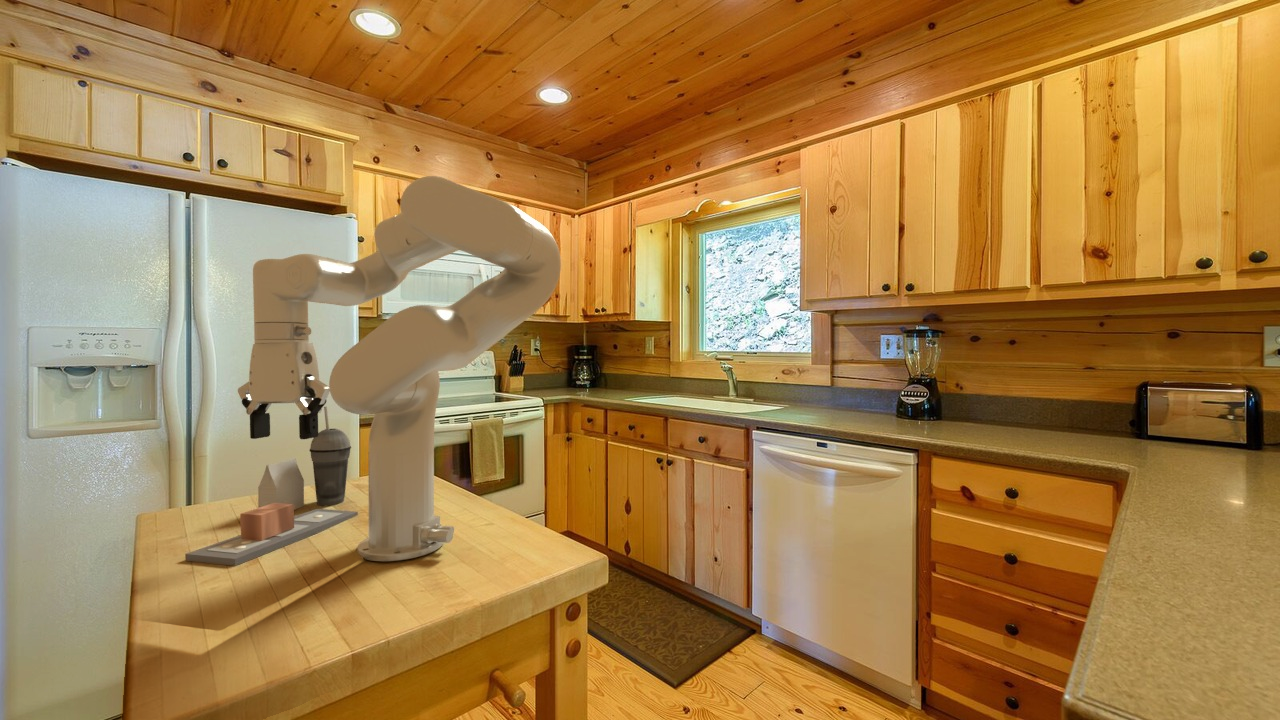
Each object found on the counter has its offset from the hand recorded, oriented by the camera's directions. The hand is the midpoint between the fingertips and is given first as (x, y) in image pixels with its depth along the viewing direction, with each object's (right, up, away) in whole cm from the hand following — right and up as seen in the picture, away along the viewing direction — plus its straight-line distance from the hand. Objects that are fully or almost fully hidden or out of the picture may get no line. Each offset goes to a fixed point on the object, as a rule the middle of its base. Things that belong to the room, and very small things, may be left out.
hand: (284, 437), depth 89 cm
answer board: (-1, -16, 0) cm, 16 cm away
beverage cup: (-3, -17, +18) cm, 25 cm away
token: (-1, -13, +1) cm, 13 cm away
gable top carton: (-9, -17, +13) cm, 23 cm away
